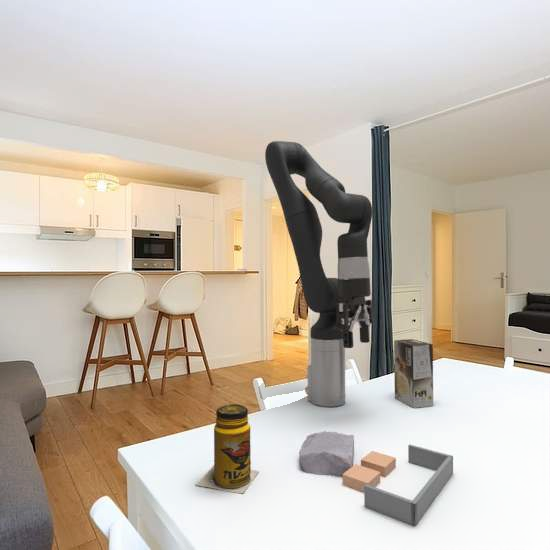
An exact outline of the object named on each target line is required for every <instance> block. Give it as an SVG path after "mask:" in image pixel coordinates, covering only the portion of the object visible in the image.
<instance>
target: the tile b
mask: <svg viewBox="0 0 550 550" xmlns="http://www.w3.org/2000/svg"><path fill="white" fill-rule="evenodd" d="M360 466H363V467H366V468H369V469H372V470H375V471H378V472H380V477H384V478H386V477H387V476H388V475H390V473H392V472H393V470H395V468H397V458H396V457H395V456H391V455H387V454H384V453H381V452H378V451H374V450H372V451H370V452H369V453H367V454H366V455H365V456H364V457H362V458H361V459H360Z"/></svg>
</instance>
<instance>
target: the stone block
mask: <svg viewBox="0 0 550 550" xmlns="http://www.w3.org/2000/svg"><path fill="white" fill-rule="evenodd" d="M354 451H355V435H354V434H345V433H342V432H337V431H327V430H326V431H321V432H315V433H311V434H309V435H306V438H305V439H304V441H303V443H302V444H301V447H300V449H299V462H300V465H301V468H302V470H303V471H304V472H305V473H306V474H307V473H308V474H312V475H317V476H335V477H343V474H344V473H345V472H346V471H347V470H349V469H350V468H351V467H352V466H354V453H355V452H354Z"/></svg>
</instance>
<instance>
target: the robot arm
mask: <svg viewBox="0 0 550 550" xmlns="http://www.w3.org/2000/svg"><path fill="white" fill-rule="evenodd" d="M264 152H265V155H264V156H265V159H264V160H265V165H266V168H267V171H268V174H269V176H270V179H271V181H272V183H273V186H274V189H275V191H276V193H277V196H278V200H279V203H280V206H281V209H282V213H283V216H284V221H285V224H286V229H287V232H288V235H289V237H290V241H291V243H292V247H293V252H294V256H295V259H296V263H297V267H298V271H299V277H300V282H301V283H300V284H301V287H302V294H303V298H304V302H305V304H306V305H307V307H308V309H309V310H310V311H312V312H314V313H318V314H319V316H318V319H317V321H316V322H315V323H314V324H313V325H312V326H311V327H310V332H309V333H310V338H309V339H310V363H309V364H308V365H307V401H308V402H311V403H312V404H314V405H316V406H320V407H328V408H329V407H339V406H340V407H341V406H342V405H345V404H346V349H353V348H354V336H353V335H354V332H353V329H354V326H355V324H357V323H358V325H359V341H360V343H362V344H363V343H367V344H369V343H370V340H371V339H370V327H371V324H373V323H374V312H373V301H372V299H366V298H367V297H370V296H371V294H372V293H371V274H370V263H369V256H368V255H369V254H368V253H369V251H368V237H369V234H370V228H371V223H372V218H373V207H372V203H371V201H370V199H369V198H368V197H367V196H365V195H363V194H357V193H349V192H346V188H345V186H344V185H343V184H342V183H341V182H340V181H339V180H338V179H337V178H335V176H333V175H332V174H330V173H329V172H327V171H326V170H325V169H323V167H321V166H320V164H318V163H319V162H317V161H316V159H314V158H313V156H312V155H311V154H310V153H309V151H308V150H307V148H305V147H304V146H303V145H302V144H301V143H299V142H296V141H285V140H284V141H283V140H277V141H276V140H275V141H271V142H269V143H268V144H267V146H266V147H265V151H264ZM292 175H298V176H300V177H301V178H303V179H304V180H305V181H304V182H305V187H306V189H307V191H308V193H309V194H310V195H311V196H312V197H313V198H314V199H315V200H317V202H319V203H320V204H321V205H322V206H323V208H324V210H325V212H326V214H327V215H328V217H329V218H330V219H332V220H333V221H335V222H337V223H340V224H341V223H342V224H349V225H348V226H349V227H348V231H347V232H345V233H342V234H340V235H339V236H338V238H337V277H327V276H326V273H325V270H324V268H323V264H322V260H321V259H322V258H321V247H322V240H323V227H322V223H321V221H320V217H319V213H318V211H317V209H316V207H315V205H314V203H312V201H311V199H310V198H309V197H307V195H305V193H304V192H303V191H302V190H301V189H300V188H299V187H298V186H297V185H296V183H295V181H294V180H293V178H292Z"/></svg>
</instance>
